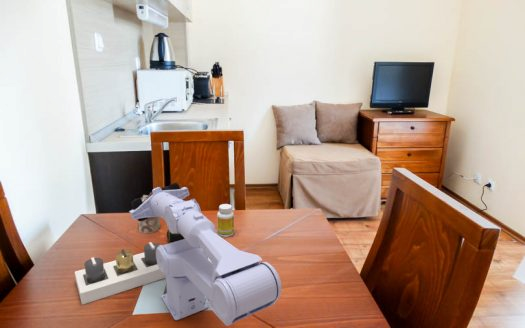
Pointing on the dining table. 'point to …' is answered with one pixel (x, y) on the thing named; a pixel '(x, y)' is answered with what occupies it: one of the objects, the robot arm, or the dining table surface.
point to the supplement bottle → (225, 220)
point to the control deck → (117, 279)
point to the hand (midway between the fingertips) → (150, 196)
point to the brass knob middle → (124, 261)
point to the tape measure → (174, 236)
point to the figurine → (148, 221)
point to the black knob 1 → (94, 270)
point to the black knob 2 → (150, 253)
